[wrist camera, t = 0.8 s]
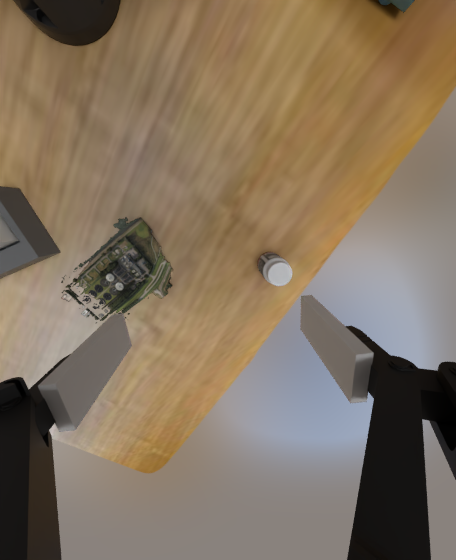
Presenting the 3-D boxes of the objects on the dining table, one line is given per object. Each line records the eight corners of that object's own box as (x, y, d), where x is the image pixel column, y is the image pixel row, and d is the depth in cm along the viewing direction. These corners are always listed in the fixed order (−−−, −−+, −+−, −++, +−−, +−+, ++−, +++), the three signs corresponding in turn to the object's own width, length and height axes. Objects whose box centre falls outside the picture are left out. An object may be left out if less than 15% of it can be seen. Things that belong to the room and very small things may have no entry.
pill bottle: (268, 279, 43) (279, 294, 35) (252, 264, 42) (259, 276, 34) (285, 262, 42) (300, 274, 34) (269, 246, 41) (281, 254, 33)
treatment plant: (124, 343, 47) (116, 354, 44) (49, 294, 43) (34, 301, 40) (195, 261, 42) (192, 265, 38) (117, 197, 38) (107, 195, 35)
